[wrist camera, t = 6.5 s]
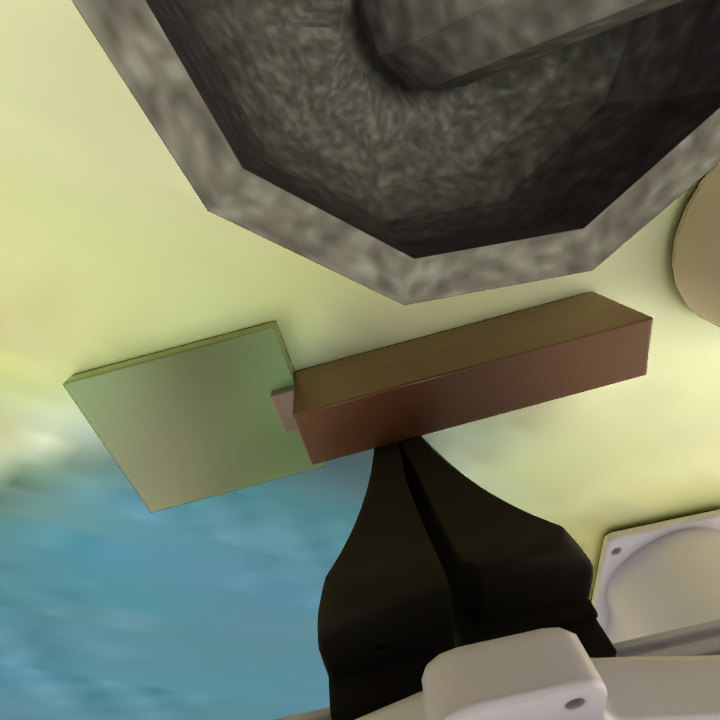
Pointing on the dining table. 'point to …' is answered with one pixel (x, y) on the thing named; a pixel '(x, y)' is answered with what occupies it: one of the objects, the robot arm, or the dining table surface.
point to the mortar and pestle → (429, 125)
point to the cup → (700, 249)
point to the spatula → (340, 394)
